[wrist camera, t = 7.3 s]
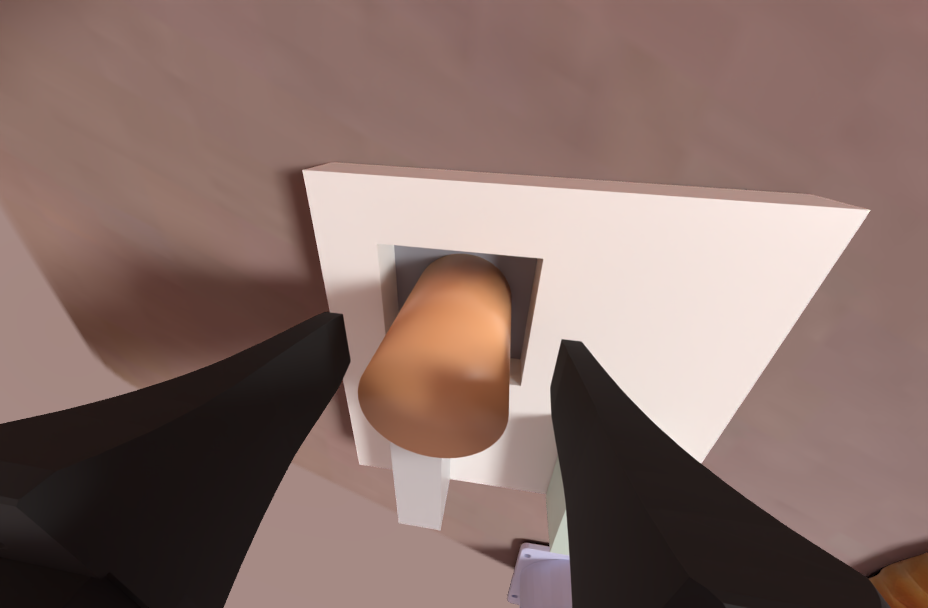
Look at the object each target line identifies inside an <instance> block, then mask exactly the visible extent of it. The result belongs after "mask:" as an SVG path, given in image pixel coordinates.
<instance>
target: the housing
mask: <svg viewBox="0 0 928 608" xmlns="http://www.w3.org/2000/svg"><path fill="white" fill-rule="evenodd" d="M302 171H303V176H304V181H305V186H306V191H307V196H308V202H309V207H310V212H311V217H312V222H313V227H314V233H315V238H316V243H317V248H318V253H319V258H320V264H321V269H322V274H323V279H324V284H325V289H326V295H327V300H328V305H329V310H330V312H331V313H339V314H343V317H344V323H345V329H346V335H347V341H348V347H349V353H350V359H351V362H350V365H349V367H348V369H347V371H346V374H345V376H344V378H343V382H344V387H345V393H346V398H347V403H348V408H349V413H350V418H351V424H352V429H353V434H354V439H355V444H356V449H357V455H358V460H359V464H360V465H366V466H372V467H379V468H385V469H391V470H393V476H394V485H395V494H396V503H397V512H398V521H399V523H402V524H407V525H413V526H419V527H424V528H430V529H436V530H441V525H442V519H443V514H444V508H445V503H446V497H447V492H448V486H449V481H450V479H454V480H460V481H466V482H472V483H479V484H485V485H491V486H498V487H504V488H510V489H516V490H523V491H529V492H535V493H541V494H546V493H547V490H548V487H549V483H550V480H551V477H552V473H553V470H554V467H555V463H556V460H557V457H558V453H557V447H556V441H555V435H554V430H553V424H552V417H551V399H550V385H551V381H552V377H553V373H554V369H555V365H556V360H557V356H558V352H559V348H560V344H561V339H565V340H574V341H582V343H583V344H584V345H585V346H586V347H587V349H588V350H589V351H590V352H591V354H592V355H593V356H594V357H595V359H596V360H597V361H598V362H599V363H600V365H601V366H602V367H603V368H604V370H605V371H606V372H607V373H608V374H609V376H610V377H611V378H612V379H613V380H614V381H615V382H616V384H617V385H618V386H619V387H620V388H621V389H622V390H623V391H624V393H625V394H626V395H627V396H628V397H629V398H630V399H631V400H632V401H633V402H634V403H635V404H636V405H637V406H638V407H639V408H640V409H641V410H642V411H643V412H644V413H645V414H646V415H647V416H648V417H649V418H650V419H651V420H652V421H653V422H654V423H655V424H656V425H657V426H658V427H659V428H660V429H661V430H662V431H664V432H665V433H666V434H667V435H668V436H669V437H670V438H671V439H672V440H674V441H675V442H676V443H677V444H678V445H679V446H680V447H681V448H683V449H684V450H685V451H686V452H687V453H689V454H690V455H691V456H692V457H693V458H695V459H696V460H697V461H698V462H700V463H702V462H703V460H704V459H705V457H706V456H707V454H708V453H709V451H710V450H711V448H712V447H713V445H714V444H715V442H716V441H717V439H718V438H719V436H720V435H721V433H722V432H723V430H724V429H725V427H726V426H727V424H728V423H729V421H730V420H731V418H732V417H733V415H734V414H735V412H736V411H737V409H738V408H739V406H740V405H741V403H742V402H743V400H744V399H745V397H746V396H747V394H748V393H749V391H750V390H751V388H752V387H753V385H754V384H755V382H756V381H757V379H758V378H759V376H760V375H761V373H762V372H763V370H764V369H765V367H766V366H767V364H768V363H769V361H770V360H771V358H772V357H773V355H774V354H775V352H776V351H777V349H778V348H779V346H780V345H781V343H782V342H783V340H784V339H785V337H786V336H787V334H788V333H789V331H790V330H791V328H792V327H793V325H794V324H795V322H796V321H797V319H798V318H799V316H800V315H801V313H802V312H803V310H804V309H805V307H806V306H807V304H808V303H809V302H810V300H811V299H812V297H813V296H814V294H815V293H816V291H817V290H818V288H819V287H820V285H821V284H822V282H823V281H824V279H825V278H826V276H827V275H828V273H829V272H830V270H831V269H832V267H833V266H834V264H835V263H836V261H837V260H838V258H839V257H840V255H841V254H842V252H843V251H844V249H845V248H846V246H847V245H848V243H849V242H850V240H851V239H852V237H853V236H854V234H855V233H856V231H857V230H858V228H859V227H860V225H861V224H862V222H863V221H864V219H865V218H866V216H867V215H868V213H869V212H870V210H868V209H865V208H861V207H857V206H853V205H850V204H846V203H842V202H838V201H835V200H831V199H827V198H823V197H820V196H816V195H812V194H798V193H783V192H769V191H754V190H739V189H724V188H709V187H694V186H680V185H665V184H650V183H635V182H620V181H606V180H591V179H576V178H561V177H546V176H531V175H517V174H502V173H487V172H472V171H457V170H443V169H428V168H413V167H398V166H383V165H368V164H354V163H339V162H332V163H328V164H324V165H320V166H316V167H312V168H308V169H304V170H302ZM451 254H470V255H475V256H478V257H481V258H483V259H485V260H487V261H489V262H490V263H492V264H493V265H494V266H496V267H497V268H498V269H499V270H500V271H501V272H502V274H503V275H504V276H505V278H506V280H507V282H508V284H509V287H510V290H511V298H512V302H511V345H510V387H509V418H508V423H507V427H506V429H505V431H504V433H503V435H502V436H501V437H500V439H499V440H498V441H497V442H496V443H495V444H493V445H492V446H491V447H489V448H488V449H486V450H484V451H482V452H480V453H477V454H474V455H470V456H466V457H460V458H436V457H429V456H424V455H420V454H417V453H413V452H411V451H408V450H405V449H403V448H401V447H399V446H397V445H395V444H394V443H392V442H390V441H389V440H387V439H386V438H385V437H383V436H382V435H381V434H380V433H379V432H377V431H376V430H375V429H374V428H373V427H372V425H371V424H370V423H369V422H368V420H367V419H366V417H365V416H364V414H363V412H362V410H361V407H360V404H359V400H358V385H359V381H360V378H361V376H362V374H363V373H364V371H365V369H366V367H367V366H368V364H369V362H370V361H371V359H372V357H373V356H374V354H375V352H376V351H377V349H378V347H379V345H380V344H381V342H382V340H383V339H384V337H385V335H386V334H387V332H388V330H389V329H390V327H391V325H392V324H393V322H394V320H395V318H396V317H397V315H398V313H399V312H400V310H401V308H402V307H403V305H404V303H405V302H406V300H407V298H408V297H409V295H410V293H411V291H412V290H413V288H414V286H415V285H416V283H417V281H418V280H419V278H420V276H421V275H422V273H423V271H424V270H425V269H426V268H427V267H428V266H429V265H430V264H431V263H432V262H434V261H435V260H437V259H439V258H441V257H444V256H447V255H451Z"/></svg>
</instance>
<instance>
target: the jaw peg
mask: <svg viewBox="0 0 928 608" xmlns="http://www.w3.org/2000/svg"><path fill="white" fill-rule="evenodd" d="M511 302H512V298H511V290H510V287H509V284H508V282H507V280H506V278H505V276H504V275H503V274H502V272H501V271H500V270H499V269H498V268H497V267H496V266H494V265H493V264H492V263H490V262H489V261H487V260H485V259H483V258H481V257H478V256H475V255H470V254H451V255H447V256H444V257H441V258H439V259H437V260H435V261H434V262H432V263H431V264H430V265H429V266H428V267H427V268H426V269H425V270H424V271H423V273H422V275H421V276H420V278H419V280H418V281H417V283H416V285H415V286H414V288H413V290H412V291H411V293H410V295H409V297H408V298H407V300H406V302H405V303H404V305H403V307H402V308H401V310H400V312H399V313H398V315H397V317H396V318H395V320H394V322H393V324H392V325H391V327H390V329H389V330H388V332H387V334H386V335H385V337H384V339H383V340H382V342H381V344H380V345H379V347H378V349H377V351H376V352H375V354H374V356H373V357H372V359H371V361H370V362H369V364H368V366H367V367H366V369H365V371H364V373H363V374H362V376H361V378H360V381H359V385H358V400H359V404H360V407H361V410H362V412H363V414H364V416H365V417H366V419H367V420H368V422H369V423H370V424H371V425H372V427H373V428H374V429H375V430H376V431H377V432H379V433H380V434H381V435H382V436H383V437H385V438H386V439H387V440H389V441H390V442H392V443H394V444H395V445H397V446H399V447H401V448H403V449H405V450H408V451H411V452H413V453H417V454H420V455H424V456H429V457H436V458H460V457H466V456H470V455H474V454H477V453H480V452H482V451H484V450H486V449H488V448H489V447H491V446H492V445H493V444H495V443H496V442H497V441H498V440H499V439H500V437H501V436H502V435H503V433H504V431H505V429H506V427H507V423H508V418H509V387H510V345H511Z"/></svg>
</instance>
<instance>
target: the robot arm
mask: <svg viewBox="0 0 928 608" xmlns="http://www.w3.org/2000/svg"><path fill="white" fill-rule="evenodd" d="M350 362H351V359H350V353H349V347H348V341H347V335H346V329H345V323H344V317H343V314H339V313H331V312H324V313H322V314H319V315H317V316H315V317H313V318H311V319H308V320H306V321H304V322H302V323H300V324H298V325H296V326H294V327H292V328H290V329H288V330H286V331H284V332H282V333H280V334H278V335H276V336H274V337H272V338H270V339H268V340H266V341H264V342H262V343H260V344H257V345H255V346H253V347H251V348H249V349H246V350H244V351H242V352H240V353H238V354H235V355H233V356H231V357H229V358H226V359H224V360H222V361H219V362H217V363H214V364H212V365H209V366H207V367H204V368H201V369H199V370H196V371H194V372H191V373H188V374H185V375H183V376H180V377H177V378H174V379H171V380H168V381H165V382H161V383H158V384H155V385H152V386H149V387H146V388H143V389H140V390H137V391H133V392H130V393H127V394H123V395H119V396H116V397H112V398H109V399H105V400H102V401H98V402H94V403H90V404H86V405H82V406H78V407H74V408H71V409H66V410H62V411H58V412H53V413H49V414H44V415H40V416H35V417H31V418H26V419H21V420H17V421H12V422H7V423H3V424H0V608H223V607H224V605H225V603H226V600H227V598H228V595H229V593H230V591H231V588H232V586H233V583H234V581H235V579H236V576H237V574H238V572H239V569H240V566H241V564H242V562H243V560H244V558H245V556H246V553H247V551H248V549H249V547H250V545H251V542H252V540H253V538H254V535H255V534H256V531H257V529H258V527H259V525H260V523H261V520H262V519H263V516H264V514H265V512H266V510H267V508H268V506H269V504H270V502H271V500H272V498H273V496H274V494H275V492H276V490H277V488H278V486H279V484H280V482H281V480H282V478H283V477H284V475H285V473H286V471H287V469H288V467H289V465H290V463H291V461H292V460H293V458H294V456H295V454H296V453H297V451H298V449H299V448H300V446H301V444H302V443H303V441H304V440H305V438H306V437H307V435H308V434H309V432H310V431H311V429H312V428H313V426H314V425H315V423H316V422H317V420H318V419H319V417H320V416H321V414H322V413H323V411H324V410H325V408H326V406H327V405H328V403H329V402H330V400H331V399H332V397H333V396H334V394H335V393H336V391H337V389H338V388H339V386H340V384H341V382H342V380H343V378H344V376H345V374H346V371H347V369H348V367H349V365H350ZM550 399H551V417H552V424H553V430H554V435H555V441H556V447H557V453H558V459H559V464H560V470H561V476H562V482H563V488H564V495H565V503H566V516H567V529H568V542H569V555H564V554H558V553H552V552H550V547H549V546H543V545H538V544H532V543H523V544H522V545H521V547H520V551H519V554H518V558H517V562H516V565H515V569H514V573H513V577H512V580H511V584H510V588H509V592H508V599H507V600H508V602H510V603H513V604H518V605H520V608H891V607H890V606H889V605H888V603H887V602H886V601H885V599H884V598H883V597H882V595H881V594H880V593H879V591H878V590H877V589H876V588H875V586H874V585H873V584H872V583H871V581H870V580H869V579H868V578H867V577H865V576H864V575H862V574H861V573H859V572H857V571H856V570H854V569H853V568H851V567H850V566H848V565H846V564H845V563H843V562H842V561H840V560H839V559H837V558H835V557H834V556H832V555H831V554H829V553H828V552H826V551H824V550H823V549H821V548H820V547H818V546H817V545H815V544H813V543H812V542H810V541H809V540H807V539H806V538H804V537H802V536H801V535H799V534H798V533H796V532H795V531H793V530H792V529H790V528H789V527H787V526H786V525H784V524H783V523H781V522H780V521H778V520H777V519H775V518H774V517H773V516H771V515H770V514H768V513H767V512H765V511H764V510H763V509H761V508H760V507H758V506H757V505H755V504H754V503H753V502H751V501H750V500H748V499H747V498H745V497H744V496H743V495H741V494H740V493H739V492H737V491H736V490H735V489H733V488H732V487H731V486H729V485H728V484H726V483H725V482H724V481H723V480H721V479H720V478H719V477H717V476H716V475H715V474H714V473H712V472H711V471H710V470H709V469H707V468H706V467H705V466H703V465H702V464H701V463H700V462H698V461H697V460H696V459H695V458H693V457H692V456H691V455H690V454H689V453H687V452H686V451H685V450H684V449H683V448H681V447H680V446H679V445H678V444H677V443H676V442H675V441H674V440H672V439H671V438H670V437H669V436H668V435H667V434H666V433H665V432H664V431H662V430H661V429H660V428H659V427H658V426H657V425H656V424H655V423H654V422H653V421H652V420H651V419H650V418H649V417H648V416H647V415H646V414H645V413H644V412H643V411H642V410H641V409H640V408H639V407H638V406H637V405H636V404H635V403H634V402H633V401H632V400H631V399H630V398H629V397H628V396H627V395H626V394H625V393H624V391H623V390H622V389H621V388H620V387H619V386H618V385H617V384H616V382H615V381H614V380H613V379H612V378H611V377H610V376H609V374H608V373H607V372H606V371H605V370H604V368H603V367H602V366H601V365H600V363H599V362H598V361H597V360H596V359H595V357H594V356H593V355H592V354H591V352H590V351H589V350H588V349H587V347H586V346H585V345H584V344H583V343H582V341H574V340H565V339H561V344H560V348H559V352H558V356H557V360H556V365H555V369H554V373H553V377H552V381H551V385H550Z"/></svg>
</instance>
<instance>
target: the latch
mask: <svg viewBox="0 0 928 608" xmlns="http://www.w3.org/2000/svg"><path fill="white" fill-rule="evenodd" d="M546 507H547V520H548V533H549V545H550V552H552V553H558V554H564V555H569V542H568V529H567V516H566V503H565V495H564V488H563V482H562V476H561V470H560V464H559V459H558V457H557V460H556V463H555V467H554V470H553V473H552V477H551V480H550V483H549V487H548V490H547V493H546Z"/></svg>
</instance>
